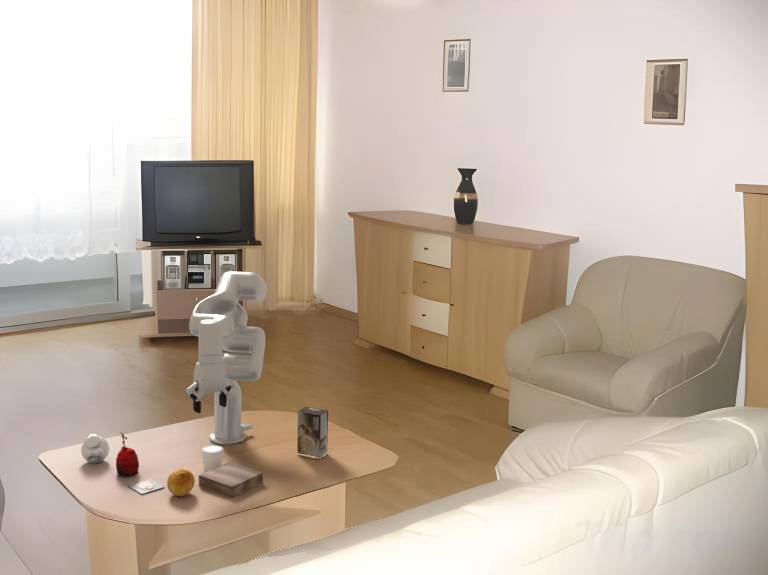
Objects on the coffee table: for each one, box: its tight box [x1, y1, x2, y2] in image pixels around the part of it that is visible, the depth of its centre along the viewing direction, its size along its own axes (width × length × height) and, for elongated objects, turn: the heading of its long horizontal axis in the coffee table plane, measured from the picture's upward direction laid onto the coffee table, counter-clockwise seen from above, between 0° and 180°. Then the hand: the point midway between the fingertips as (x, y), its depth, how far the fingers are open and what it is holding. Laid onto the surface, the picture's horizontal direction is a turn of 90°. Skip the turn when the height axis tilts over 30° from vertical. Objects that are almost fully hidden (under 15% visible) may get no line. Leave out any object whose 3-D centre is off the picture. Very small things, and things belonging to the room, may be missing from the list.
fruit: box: [166, 468, 196, 497], centre depth 269 cm, size 8×8×8 cm
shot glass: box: [201, 444, 224, 472], centre depth 289 cm, size 7×7×7 cm
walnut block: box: [198, 461, 264, 498], centre depth 278 cm, size 14×14×4 cm
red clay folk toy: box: [115, 432, 140, 477], centre depth 281 cm, size 8×7×15 cm
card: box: [127, 478, 165, 496], centre depth 273 cm, size 8×8×1 cm
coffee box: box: [296, 406, 329, 458], centre depth 304 cm, size 9×6×16 cm
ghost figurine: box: [80, 433, 110, 464], centre depth 290 cm, size 9×10×10 cm
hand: (210, 409), depth 286 cm, fingers open, 9 cm apart
